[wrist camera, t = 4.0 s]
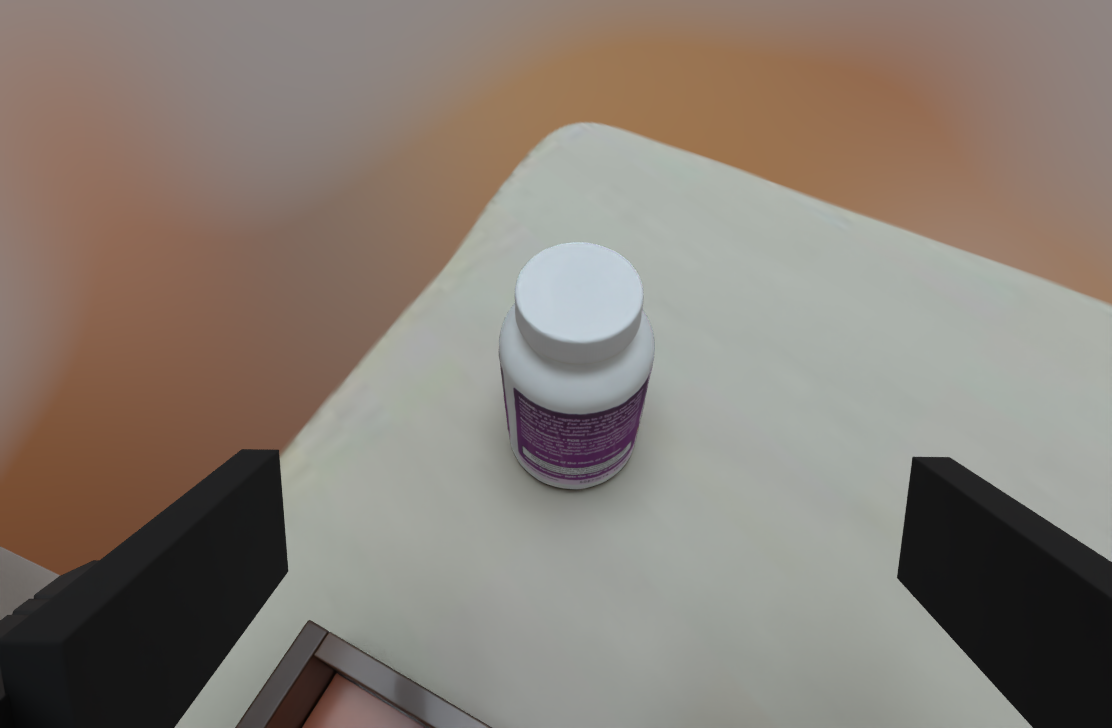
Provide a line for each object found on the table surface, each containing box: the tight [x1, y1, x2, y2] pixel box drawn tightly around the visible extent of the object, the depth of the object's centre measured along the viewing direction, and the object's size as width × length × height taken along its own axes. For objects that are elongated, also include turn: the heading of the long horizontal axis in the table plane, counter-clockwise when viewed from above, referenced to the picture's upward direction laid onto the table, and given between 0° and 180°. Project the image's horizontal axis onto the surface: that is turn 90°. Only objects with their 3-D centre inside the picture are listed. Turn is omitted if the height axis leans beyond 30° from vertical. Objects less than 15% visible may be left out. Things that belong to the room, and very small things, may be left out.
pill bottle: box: [499, 242, 655, 489], centre depth 26 cm, size 5×5×10 cm
